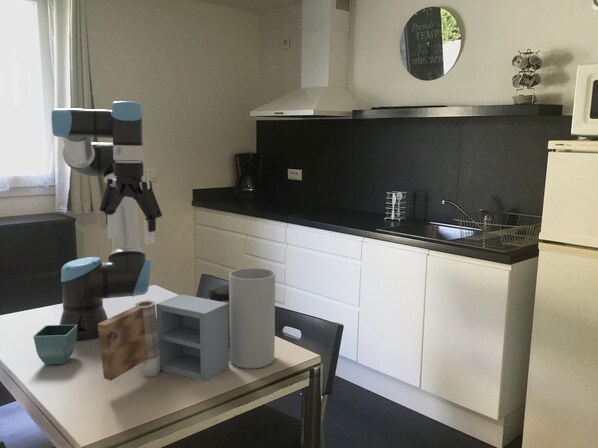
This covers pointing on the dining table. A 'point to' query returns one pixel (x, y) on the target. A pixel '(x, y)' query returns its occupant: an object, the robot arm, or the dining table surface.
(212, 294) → the coffee jar
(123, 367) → the brown panel with tube
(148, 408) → the dining table surface
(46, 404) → the dining table surface
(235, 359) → the cylinder vase
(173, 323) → the cabinet
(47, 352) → the flower pot
